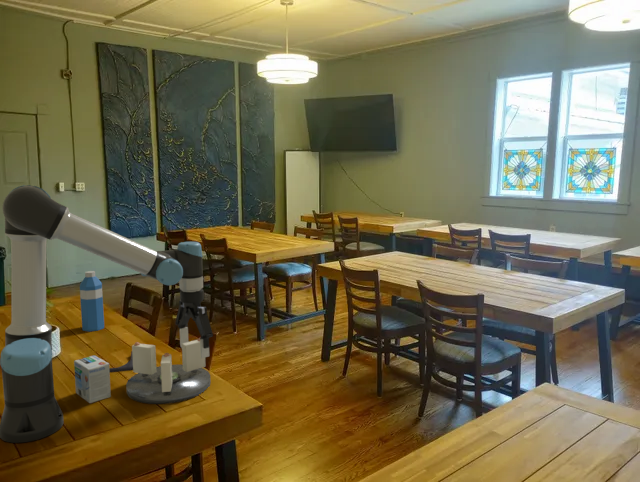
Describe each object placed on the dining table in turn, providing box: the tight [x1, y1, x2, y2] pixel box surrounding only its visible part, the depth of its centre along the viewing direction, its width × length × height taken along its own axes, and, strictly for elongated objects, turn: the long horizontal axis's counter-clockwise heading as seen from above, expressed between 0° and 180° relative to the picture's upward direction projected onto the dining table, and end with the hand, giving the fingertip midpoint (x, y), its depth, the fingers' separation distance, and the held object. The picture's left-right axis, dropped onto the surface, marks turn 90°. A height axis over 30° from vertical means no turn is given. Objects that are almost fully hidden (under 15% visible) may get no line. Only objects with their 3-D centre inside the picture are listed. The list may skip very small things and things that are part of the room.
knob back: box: [131, 341, 157, 377], centre depth 169 cm, size 7×3×11 cm, turn 73°
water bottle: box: [79, 270, 105, 332], centre depth 225 cm, size 9×9×25 cm
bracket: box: [109, 350, 133, 373], centre depth 187 cm, size 14×15×3 cm
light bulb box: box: [73, 355, 112, 404], centre depth 160 cm, size 11×7×11 cm, turn 47°
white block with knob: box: [160, 352, 173, 392], centre depth 158 cm, size 7×3×11 cm, turn 13°
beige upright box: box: [181, 337, 206, 373], centre depth 172 cm, size 7×3×11 cm, turn 133°
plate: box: [125, 364, 211, 405], centre depth 167 cm, size 26×26×4 cm
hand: (194, 351), depth 172 cm, fingers open, 13 cm apart
